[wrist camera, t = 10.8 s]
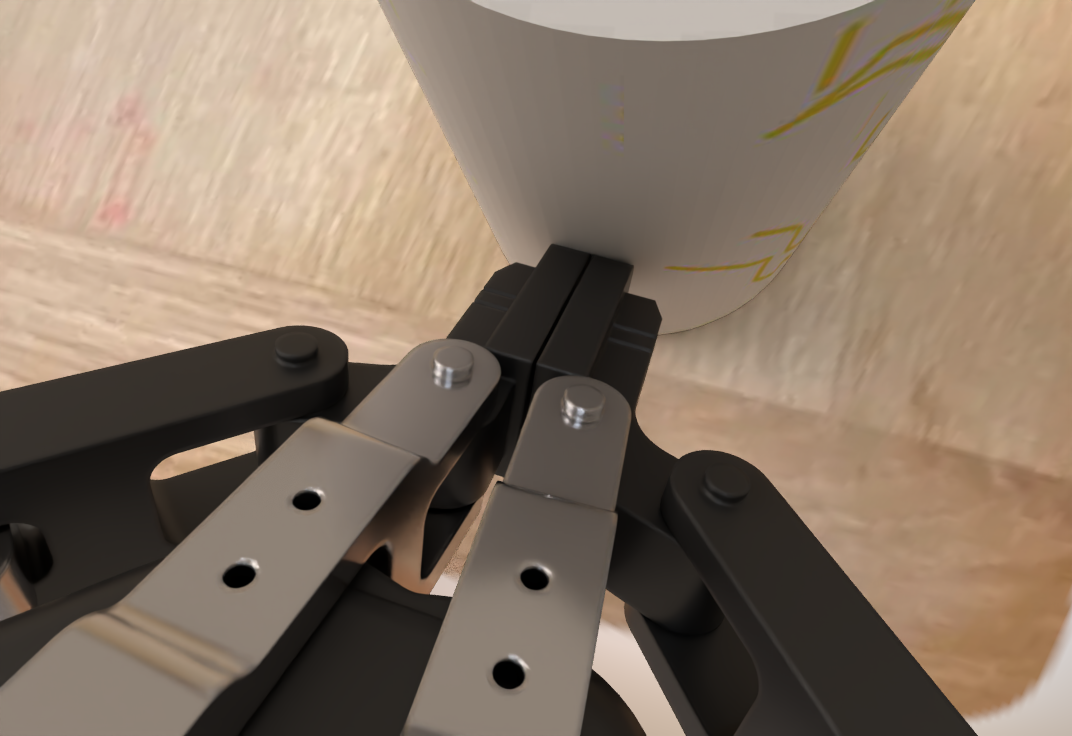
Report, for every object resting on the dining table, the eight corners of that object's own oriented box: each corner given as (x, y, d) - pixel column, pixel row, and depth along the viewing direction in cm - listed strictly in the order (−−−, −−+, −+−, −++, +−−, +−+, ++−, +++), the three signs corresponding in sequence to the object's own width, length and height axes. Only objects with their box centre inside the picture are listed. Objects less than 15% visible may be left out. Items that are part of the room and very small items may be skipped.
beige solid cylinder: (743, 384, 18) (993, 168, 6) (436, 267, 19) (133, -102, 7) (859, 84, 18) (1280, -634, 7) (558, -8, 20) (465, -738, 8)
